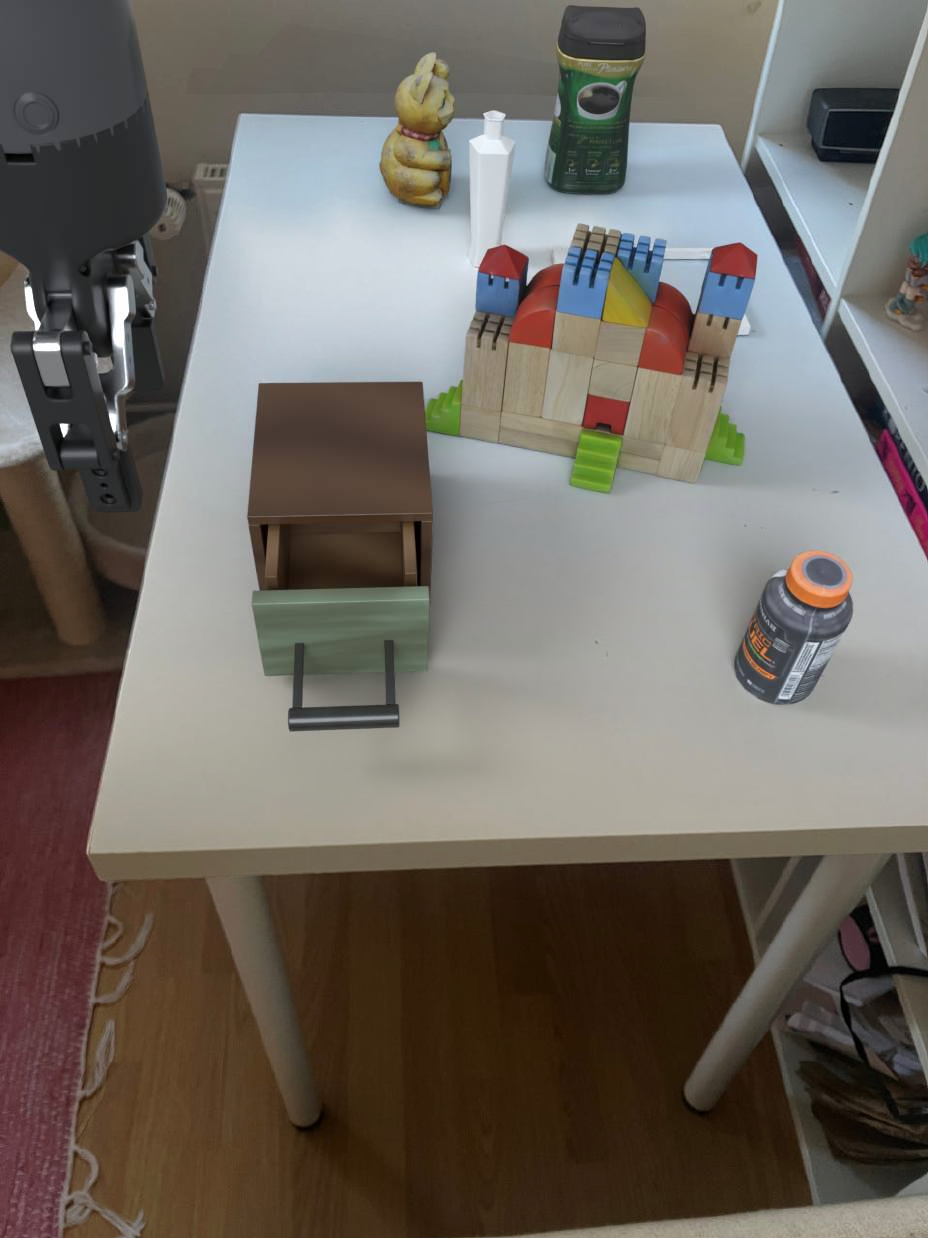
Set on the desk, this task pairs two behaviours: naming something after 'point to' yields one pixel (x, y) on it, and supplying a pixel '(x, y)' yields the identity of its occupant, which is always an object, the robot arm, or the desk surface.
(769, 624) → the pill bottle
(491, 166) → the perfume bottle
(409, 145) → the decorative figurine
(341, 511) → the cabinet
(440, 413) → the block set
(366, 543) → the drawer
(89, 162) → the robot arm
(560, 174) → the coffee jar
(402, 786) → the desk surface
